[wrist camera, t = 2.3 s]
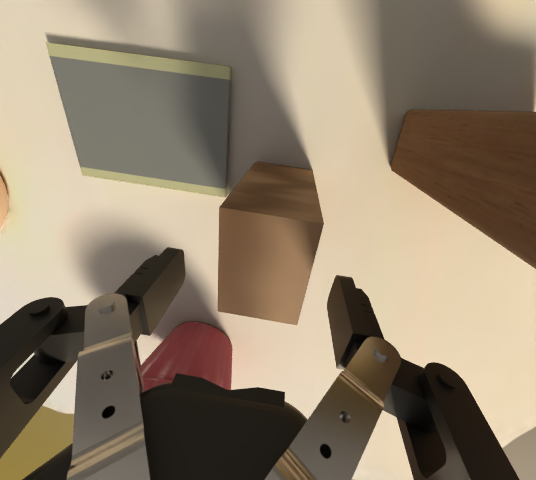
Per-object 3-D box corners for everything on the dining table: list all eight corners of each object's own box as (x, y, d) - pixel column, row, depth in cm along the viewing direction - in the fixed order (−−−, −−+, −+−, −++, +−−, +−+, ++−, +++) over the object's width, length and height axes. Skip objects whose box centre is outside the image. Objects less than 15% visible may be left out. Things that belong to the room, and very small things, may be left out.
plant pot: (183, 376, 39) (136, 482, 28) (135, 316, 33) (52, 422, 22) (263, 368, 35) (247, 487, 24) (226, 299, 29) (182, 416, 18)
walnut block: (312, 169, 21) (323, 223, 11) (297, 238, 24) (296, 325, 15) (255, 161, 21) (219, 207, 11) (249, 231, 24) (217, 311, 15)
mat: (230, 67, 18) (228, 66, 17) (226, 195, 23) (225, 197, 22) (53, 44, 18) (45, 42, 18) (87, 173, 23) (82, 175, 23)
